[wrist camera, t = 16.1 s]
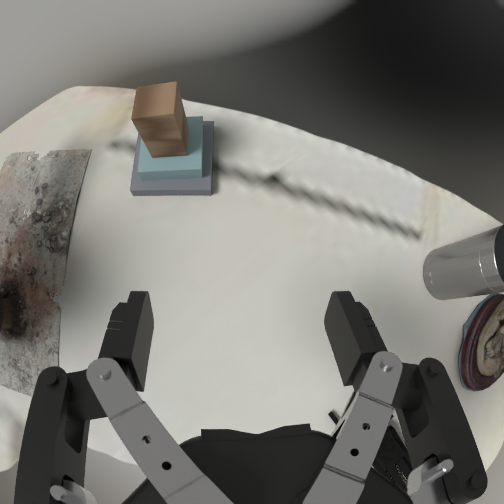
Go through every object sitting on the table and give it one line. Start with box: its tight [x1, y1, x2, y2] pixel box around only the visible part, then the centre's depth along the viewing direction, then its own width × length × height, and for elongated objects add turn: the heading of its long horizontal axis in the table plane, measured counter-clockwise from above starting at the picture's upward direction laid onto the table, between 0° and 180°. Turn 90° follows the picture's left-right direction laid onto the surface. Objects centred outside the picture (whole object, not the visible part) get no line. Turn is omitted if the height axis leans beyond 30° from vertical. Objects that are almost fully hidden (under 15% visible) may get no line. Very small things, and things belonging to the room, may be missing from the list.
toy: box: [328, 412, 413, 493], centre depth 40 cm, size 8×6×30 cm
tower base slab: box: [130, 121, 214, 196], centre depth 46 cm, size 12×12×3 cm
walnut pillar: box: [131, 82, 188, 158], centre depth 37 cm, size 5×5×10 cm
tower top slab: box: [138, 116, 203, 181], centre depth 43 cm, size 9×9×3 cm
